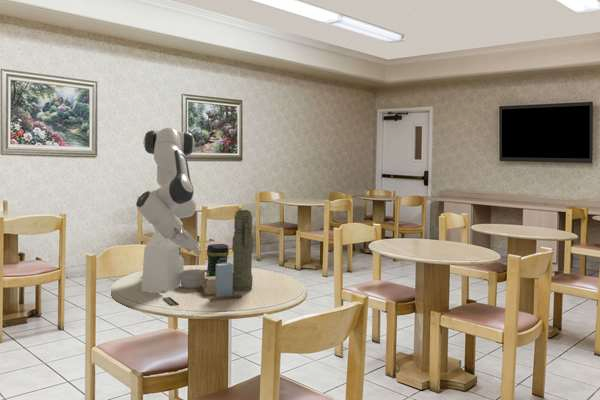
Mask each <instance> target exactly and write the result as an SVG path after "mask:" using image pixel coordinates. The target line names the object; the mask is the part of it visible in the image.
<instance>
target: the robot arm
mask: <svg viewBox="0 0 600 400" xmlns="http://www.w3.org/2000/svg"><path fill="white" fill-rule="evenodd" d="M195 142H196V141H195V139H194V135H193V134H192V133H190V132H188V131H184V132H183V131H178V130H176V129H174V128H172V127H165V128H163V129H161V130H155V129H154V130H148V131H147V132H146V133H145V135H144V137H143V141H142V145H143V147H144V150H145V152H147V153H148V154H150V155H153V160H154V162H155V164H156V183H157V184H158V186H159V188H157V189H154V190H152V191H149V190H148V191H144V193H142V194H141V195H140V196H139V197H138V198H137V201H136V204H135V205H136V206H135V207H136V208H137V210H138V211H139V213H140V214H141V216H143V217H144V219H145V220H146V221H147V222H149V224H151V225H152V227H153V229H154V230H155V229H156V230H157V231H158V232H159V233H160V234H161V235H162V236H163V237H164V238H165V239H170V240H171V241H172V242H173V243H175V244H177V245H178V246H179V262H180V272H181V271H184V269H185V268H184V264H185V263H184V258H183V257H182V256H181V253H182V250H181V247H182V248H183V249H185V250H186V251H187V252H189V253H191V252H193V253H194V254H195V255H196V256H200V255H201V254H202V252H201V250H200V249H199V247H198V245H199V243H198V240H196V239H195V238H194V237H193V236H192V235H191V234H190V233H189V231H187V230H185V229H184V227H183V225H184V223H183V222H182V220H181V219H185V218H190V217H192V216H193V215H194V214H195V213H196V210H197V203H196V201H195V199H194V198H193V197H194V186H193V183H192V182H191V176H190V168H189V164H188V159H187V156H189V155H191V154H192V153H193V151H194V149H195V145H196V143H195Z"/></svg>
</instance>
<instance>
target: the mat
mask: <svg viewBox="0 0 600 400" xmlns="http://www.w3.org/2000/svg"><path fill="white" fill-rule="evenodd" d="M162 299H163V301H164V302H166V303H167V304H169V305H170V306H177V305H178V306H179V305H180V304H179V303H178V302H177V301H176V300H174V299H173V298H171V297H170V296H169V297H163V298H162Z"/></svg>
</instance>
